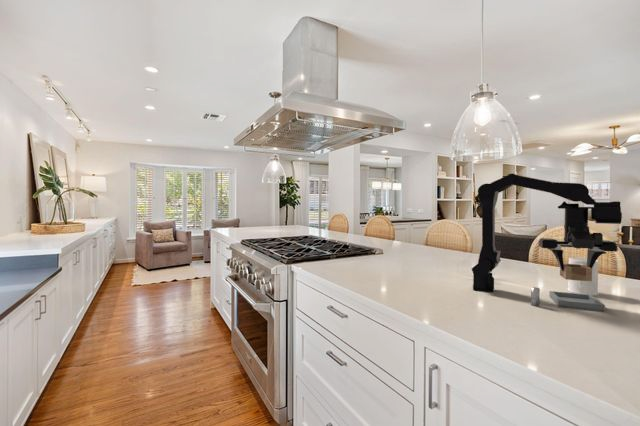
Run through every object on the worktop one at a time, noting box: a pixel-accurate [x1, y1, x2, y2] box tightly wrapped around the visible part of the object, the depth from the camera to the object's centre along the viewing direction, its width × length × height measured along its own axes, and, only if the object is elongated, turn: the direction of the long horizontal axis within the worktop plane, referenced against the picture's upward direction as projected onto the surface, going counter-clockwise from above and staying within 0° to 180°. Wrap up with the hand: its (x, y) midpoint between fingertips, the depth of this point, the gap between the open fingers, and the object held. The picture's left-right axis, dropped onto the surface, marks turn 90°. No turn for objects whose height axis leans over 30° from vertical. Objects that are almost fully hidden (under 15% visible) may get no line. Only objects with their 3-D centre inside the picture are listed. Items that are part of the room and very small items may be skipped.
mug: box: [567, 257, 600, 297], centre depth 109 cm, size 12×8×12 cm
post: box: [530, 286, 541, 307], centre depth 97 cm, size 2×2×6 cm
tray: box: [548, 290, 606, 312], centre depth 98 cm, size 11×11×2 cm
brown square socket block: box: [559, 262, 592, 281], centre depth 98 cm, size 6×6×4 cm
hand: (575, 271), depth 98 cm, fingers closed on brown square socket block, 6 cm apart
